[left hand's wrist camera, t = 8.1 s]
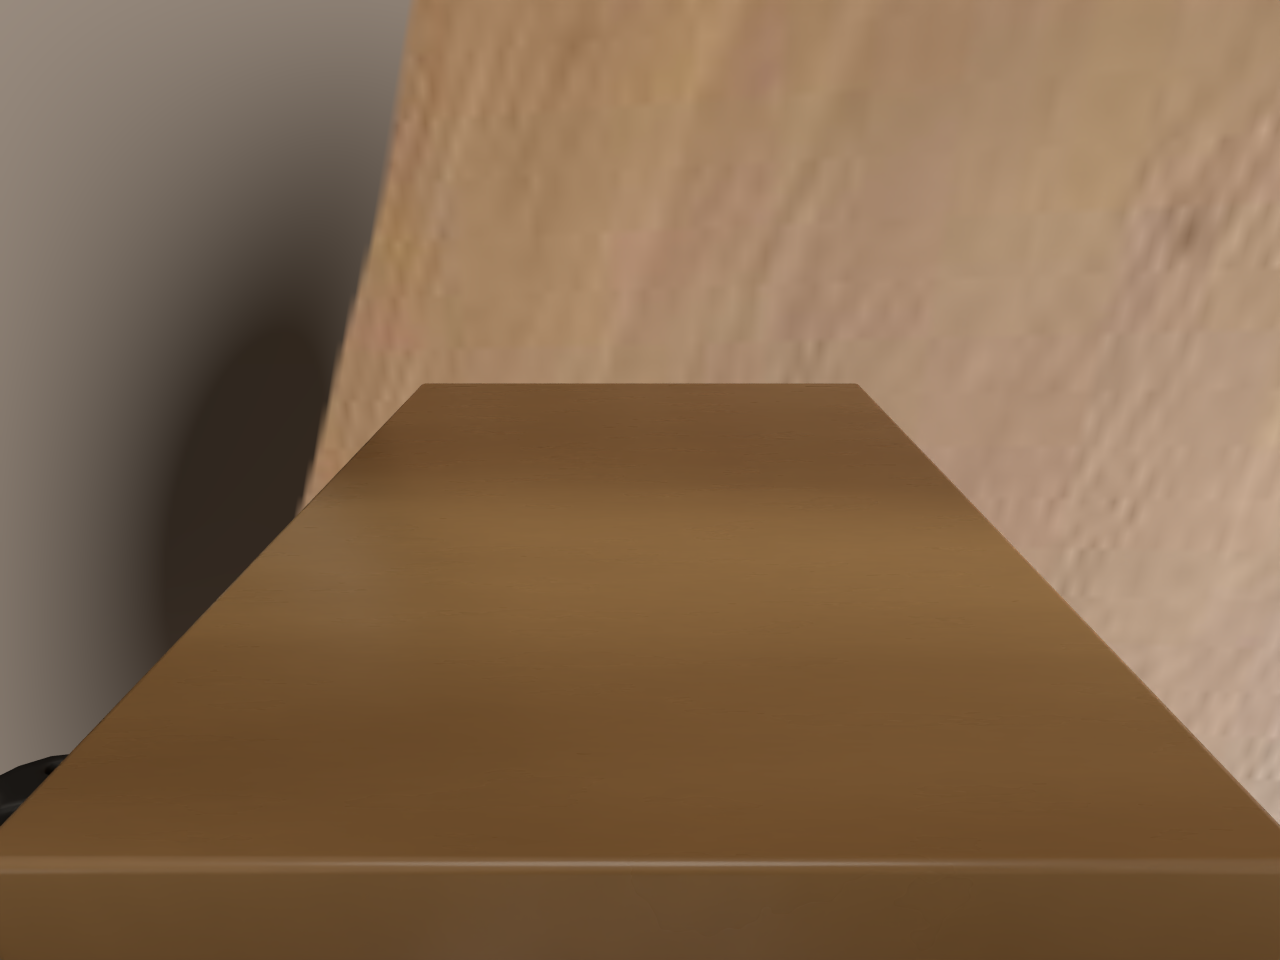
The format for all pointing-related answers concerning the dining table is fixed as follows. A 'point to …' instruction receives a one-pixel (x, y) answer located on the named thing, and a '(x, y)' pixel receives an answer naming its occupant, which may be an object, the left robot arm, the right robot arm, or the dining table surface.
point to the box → (640, 719)
